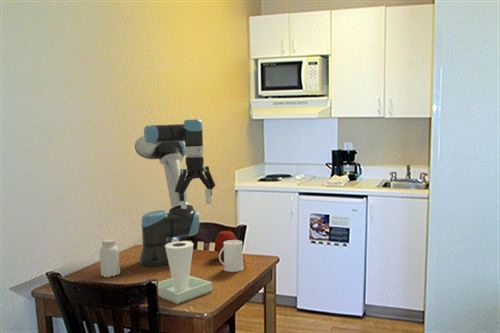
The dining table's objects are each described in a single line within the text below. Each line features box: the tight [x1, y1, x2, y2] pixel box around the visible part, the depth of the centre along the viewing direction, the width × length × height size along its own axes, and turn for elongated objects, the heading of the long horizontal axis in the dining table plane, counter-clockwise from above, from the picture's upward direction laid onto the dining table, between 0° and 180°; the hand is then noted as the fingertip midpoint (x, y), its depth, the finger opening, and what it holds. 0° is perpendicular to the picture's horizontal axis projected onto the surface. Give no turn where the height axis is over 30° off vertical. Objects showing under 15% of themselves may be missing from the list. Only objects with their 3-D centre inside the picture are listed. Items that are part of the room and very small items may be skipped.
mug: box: [218, 239, 245, 273], centre depth 219 cm, size 12×8×12 cm
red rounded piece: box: [215, 228, 238, 259], centre depth 238 cm, size 10×10×14 cm
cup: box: [165, 240, 194, 293], centre depth 192 cm, size 11×11×18 cm
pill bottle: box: [99, 238, 121, 278], centre depth 218 cm, size 8×8×15 cm
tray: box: [157, 275, 213, 305], centre depth 193 cm, size 17×17×4 cm
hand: (196, 206), depth 215 cm, fingers open, 13 cm apart
